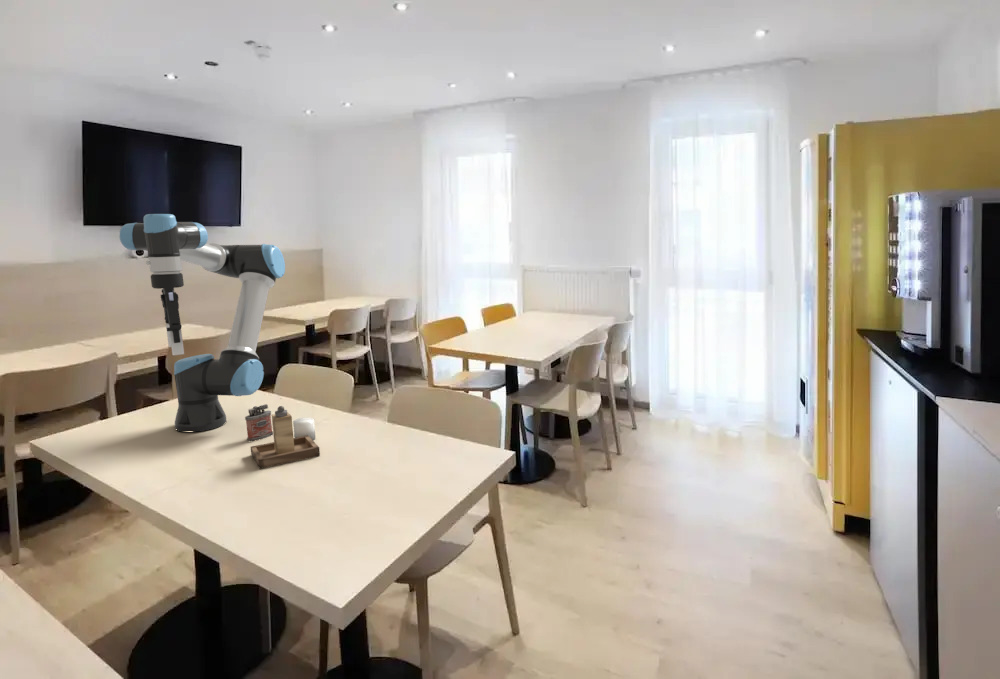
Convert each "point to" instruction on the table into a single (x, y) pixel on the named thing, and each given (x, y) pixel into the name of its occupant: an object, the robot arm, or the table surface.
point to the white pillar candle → (304, 427)
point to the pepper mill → (282, 431)
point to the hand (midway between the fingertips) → (176, 350)
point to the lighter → (258, 423)
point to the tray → (268, 457)
